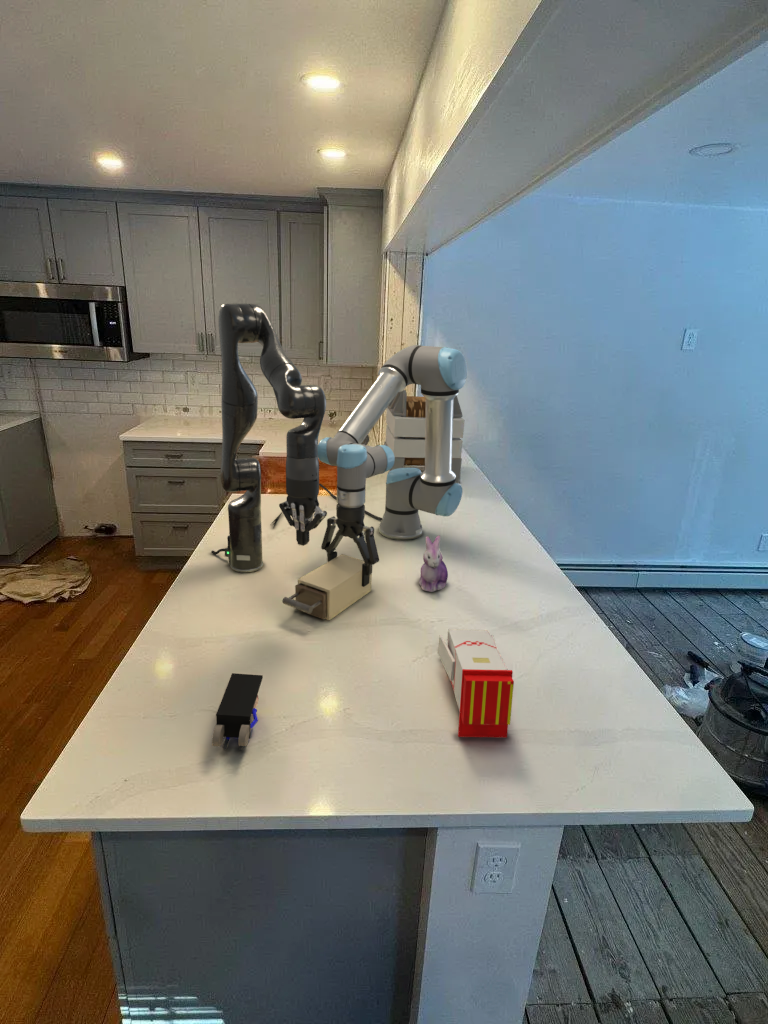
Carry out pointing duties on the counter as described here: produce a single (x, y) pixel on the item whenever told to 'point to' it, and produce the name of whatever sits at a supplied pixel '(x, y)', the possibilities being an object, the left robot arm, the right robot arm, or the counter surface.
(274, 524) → the feather
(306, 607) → the drawer
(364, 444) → the fossil
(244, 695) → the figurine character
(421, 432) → the grey slatted crate
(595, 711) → the counter surface
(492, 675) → the toy
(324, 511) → the left robot arm
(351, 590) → the cabinet
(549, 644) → the counter surface
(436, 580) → the figurine
